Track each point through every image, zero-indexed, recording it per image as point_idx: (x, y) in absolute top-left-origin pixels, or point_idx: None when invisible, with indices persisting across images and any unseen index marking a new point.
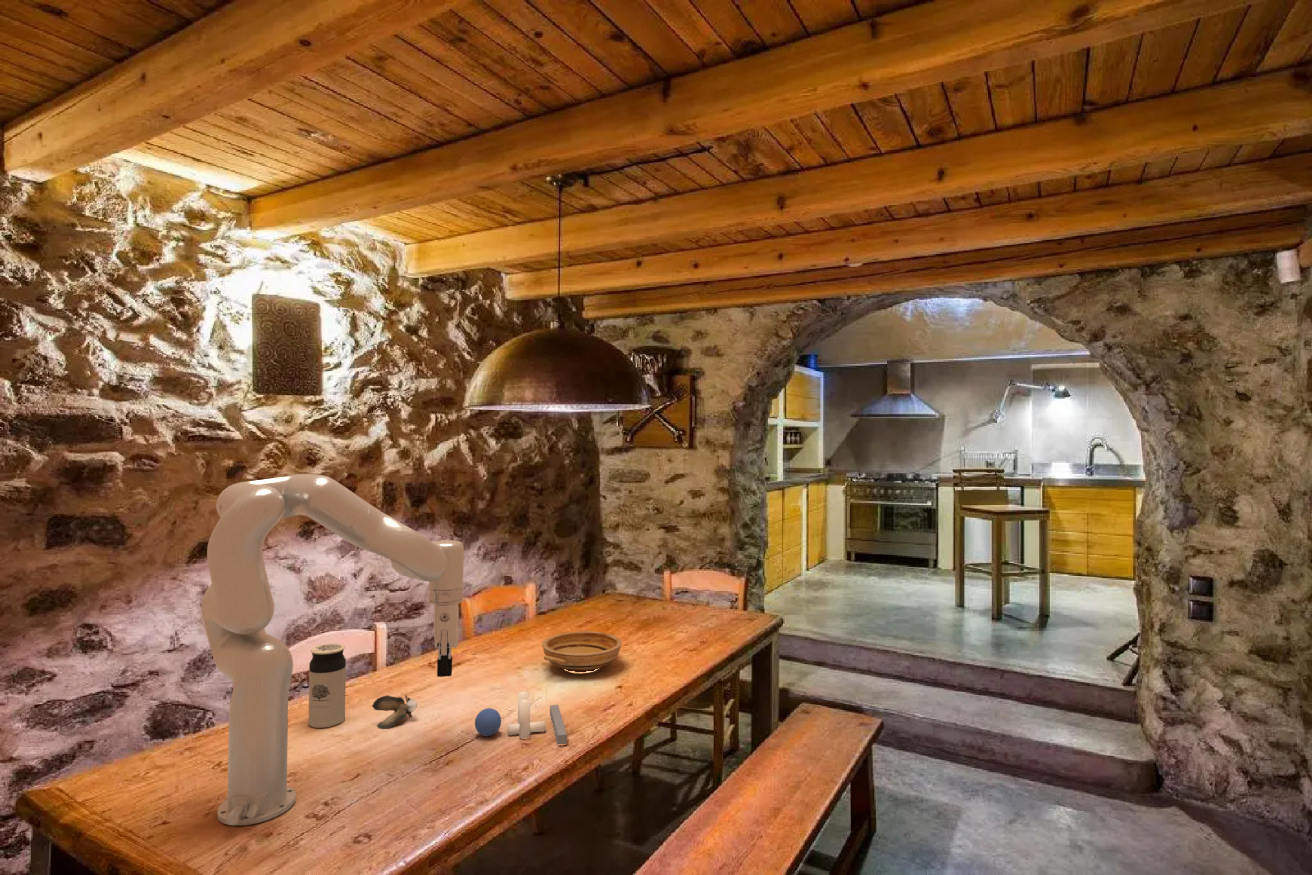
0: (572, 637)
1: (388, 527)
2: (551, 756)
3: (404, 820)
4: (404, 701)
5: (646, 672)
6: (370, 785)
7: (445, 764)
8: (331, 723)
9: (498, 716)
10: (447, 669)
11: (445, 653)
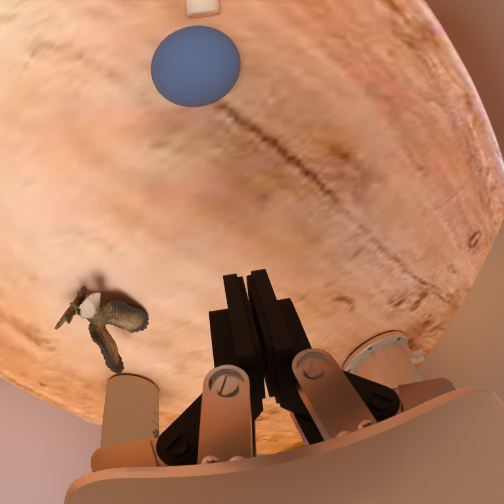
0: None
1: None
2: None
3: (469, 203)
4: (89, 325)
5: None
6: (379, 271)
7: (348, 159)
8: (150, 385)
9: (210, 29)
10: (294, 311)
11: (451, 389)
